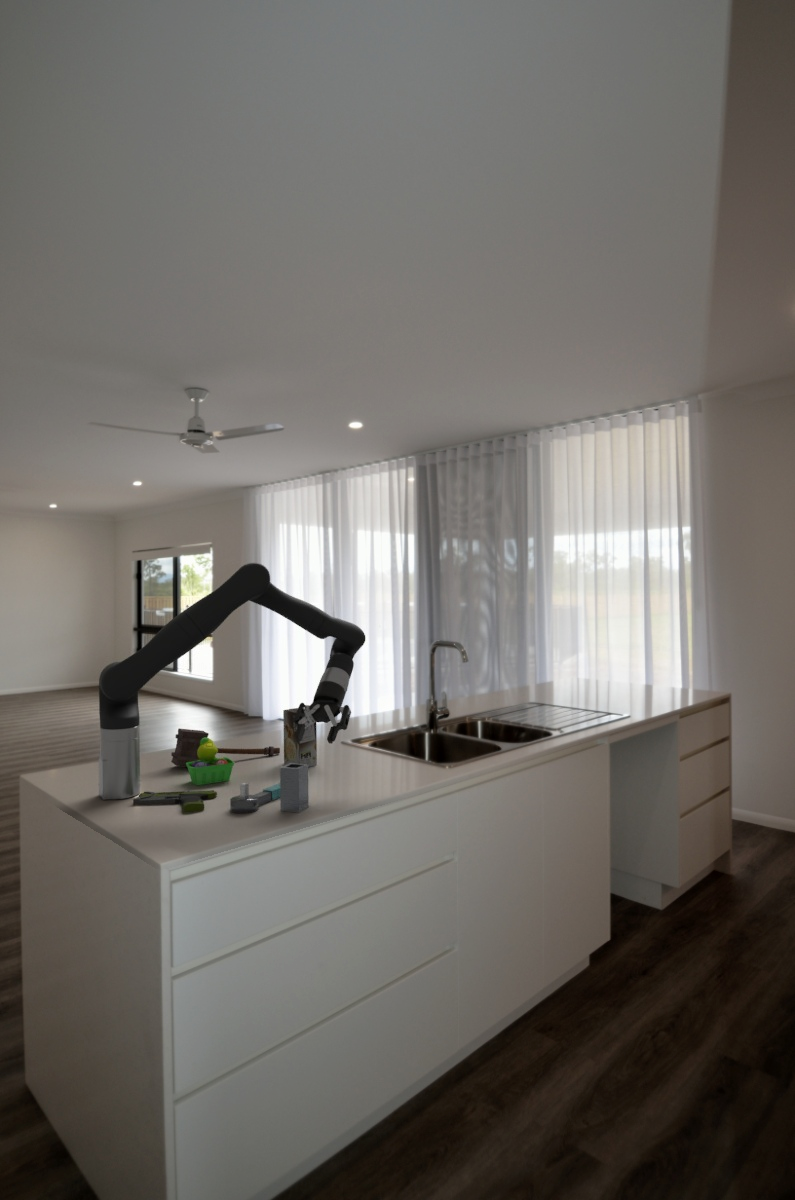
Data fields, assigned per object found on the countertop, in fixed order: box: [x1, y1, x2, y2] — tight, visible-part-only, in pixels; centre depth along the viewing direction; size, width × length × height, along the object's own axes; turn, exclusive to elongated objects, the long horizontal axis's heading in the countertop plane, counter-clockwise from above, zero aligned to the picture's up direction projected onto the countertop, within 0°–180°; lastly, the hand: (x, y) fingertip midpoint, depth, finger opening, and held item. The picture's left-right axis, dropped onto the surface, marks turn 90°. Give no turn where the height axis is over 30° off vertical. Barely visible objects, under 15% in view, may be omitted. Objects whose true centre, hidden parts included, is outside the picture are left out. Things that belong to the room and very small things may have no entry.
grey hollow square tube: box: [279, 763, 309, 814], centre depth 160 cm, size 5×5×10 cm
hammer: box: [171, 728, 281, 768], centre depth 208 cm, size 7×33×10 cm, turn 123°
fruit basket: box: [186, 737, 235, 786], centre depth 186 cm, size 11×9×11 cm
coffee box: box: [282, 707, 318, 768], centre depth 203 cm, size 9×6×16 cm
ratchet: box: [229, 782, 280, 815], centre depth 165 cm, size 19×6×6 cm, turn 152°
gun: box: [132, 789, 218, 814], centre depth 165 cm, size 2×19×15 cm
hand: (313, 740), depth 170 cm, fingers open, 8 cm apart
